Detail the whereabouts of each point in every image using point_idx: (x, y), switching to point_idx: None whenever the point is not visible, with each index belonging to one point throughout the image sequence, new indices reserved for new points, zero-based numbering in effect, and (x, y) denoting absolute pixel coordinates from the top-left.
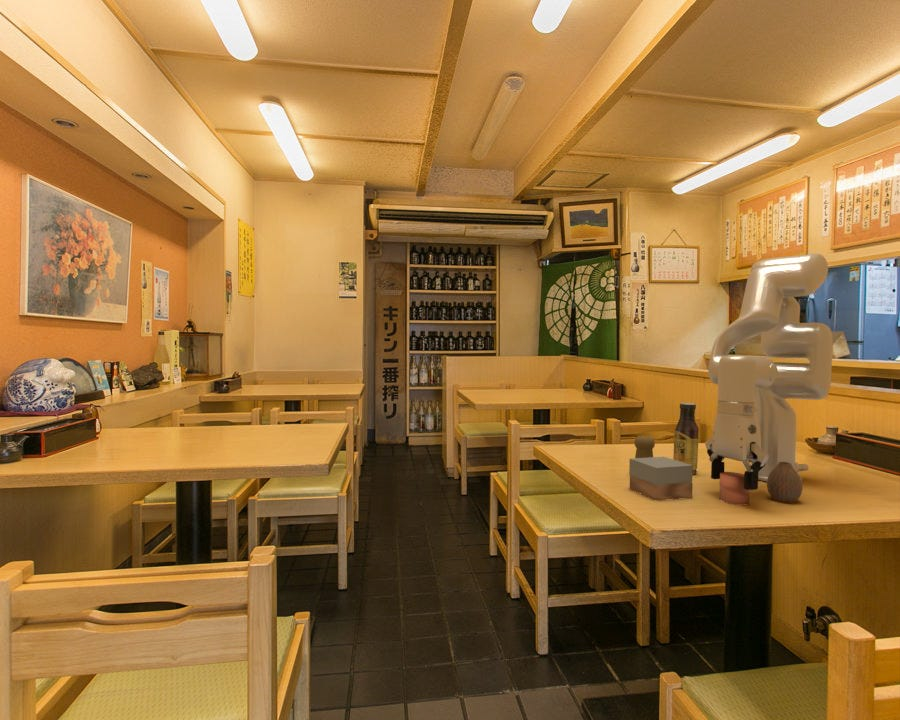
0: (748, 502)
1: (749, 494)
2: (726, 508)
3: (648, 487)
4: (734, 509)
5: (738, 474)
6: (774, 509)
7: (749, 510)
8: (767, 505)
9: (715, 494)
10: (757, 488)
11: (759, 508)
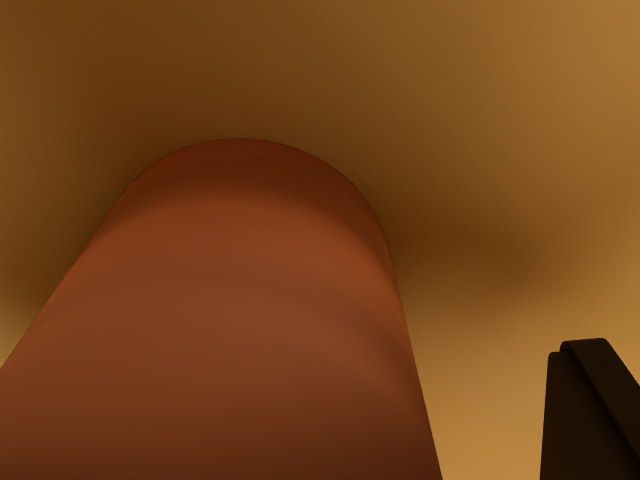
0: (373, 214)
1: (345, 216)
2: (458, 465)
3: None
4: (497, 427)
5: (157, 454)
6: (614, 53)
7: (557, 332)
8: (462, 16)
9: (7, 317)
10: (605, 346)
11: (533, 199)
